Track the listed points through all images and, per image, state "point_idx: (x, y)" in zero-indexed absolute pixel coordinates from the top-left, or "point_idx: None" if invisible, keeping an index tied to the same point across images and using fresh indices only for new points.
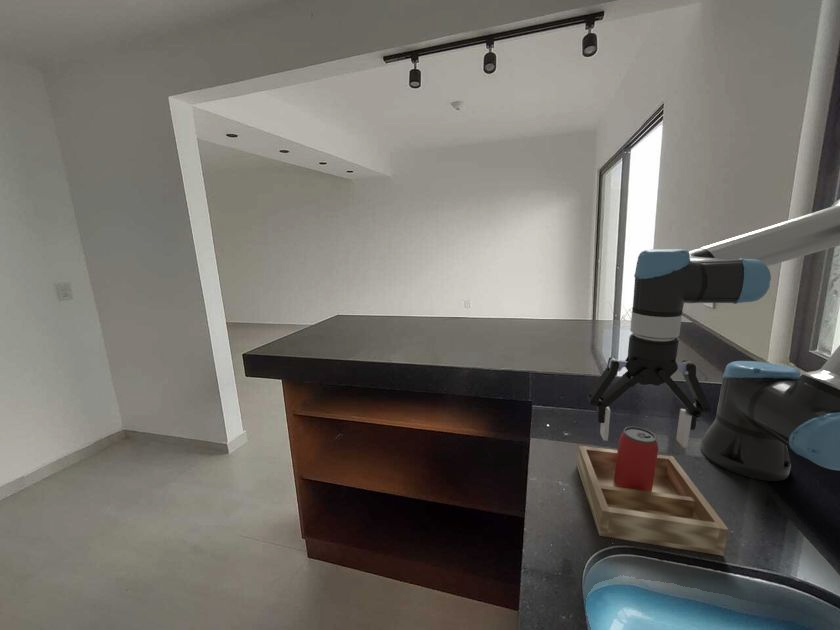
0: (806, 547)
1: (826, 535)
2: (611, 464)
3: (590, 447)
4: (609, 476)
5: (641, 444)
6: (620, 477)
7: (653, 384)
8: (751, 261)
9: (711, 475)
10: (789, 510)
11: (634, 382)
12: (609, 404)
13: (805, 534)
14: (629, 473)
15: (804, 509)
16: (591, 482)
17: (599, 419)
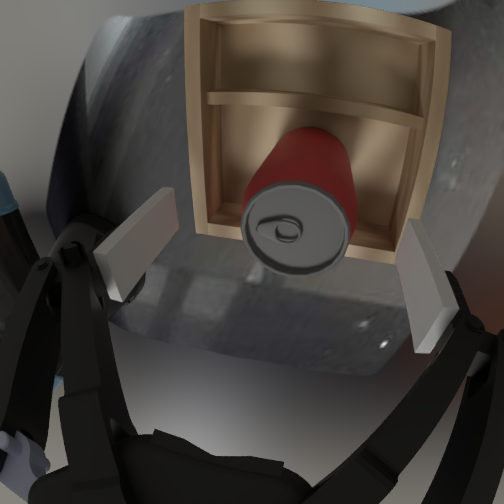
0: (92, 81)
1: (67, 116)
2: None
3: (379, 259)
4: None
5: (312, 179)
6: (348, 160)
7: (194, 448)
8: None
9: None
10: (83, 155)
11: (350, 488)
12: (453, 334)
13: (84, 109)
14: (337, 149)
15: (70, 162)
16: (440, 128)
17: (454, 280)
